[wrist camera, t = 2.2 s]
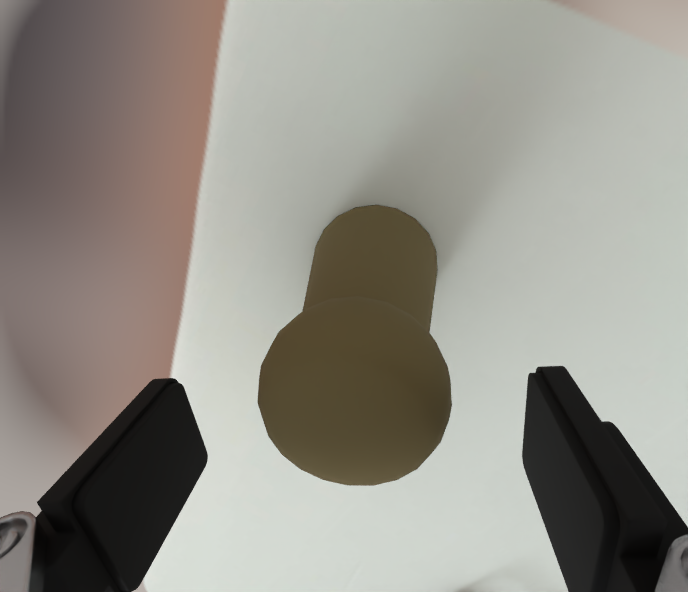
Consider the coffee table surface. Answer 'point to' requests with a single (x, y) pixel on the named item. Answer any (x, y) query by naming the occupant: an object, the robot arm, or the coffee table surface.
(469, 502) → the coffee table surface
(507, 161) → the coffee table surface
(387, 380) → the tan pawn
